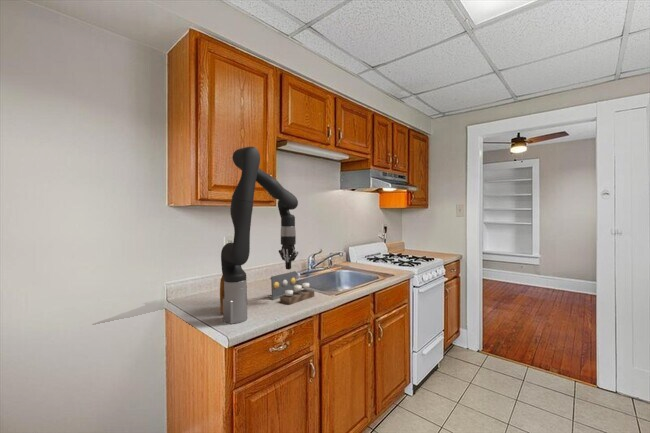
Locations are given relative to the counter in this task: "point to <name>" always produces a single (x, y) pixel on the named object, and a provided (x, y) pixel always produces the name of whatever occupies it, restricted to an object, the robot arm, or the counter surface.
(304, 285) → the button far
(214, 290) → the counter surface
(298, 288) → the button mid
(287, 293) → the button near
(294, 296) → the button board
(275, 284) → the pattern card
